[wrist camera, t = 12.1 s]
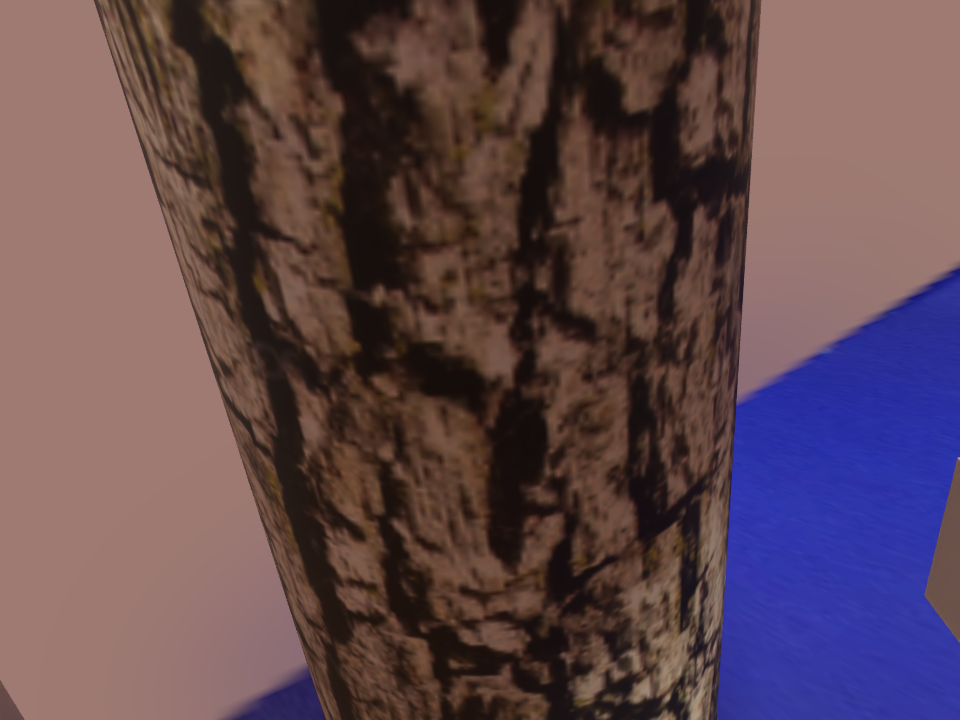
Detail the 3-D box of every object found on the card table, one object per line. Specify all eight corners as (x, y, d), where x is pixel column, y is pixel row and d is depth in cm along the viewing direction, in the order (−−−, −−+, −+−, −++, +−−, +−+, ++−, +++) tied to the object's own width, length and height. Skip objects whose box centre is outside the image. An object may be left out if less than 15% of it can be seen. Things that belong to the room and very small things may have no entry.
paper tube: (383, 909, 24) (29, -179, 11) (606, 795, 26) (554, -247, 12) (489, 1217, 19) (56, -161, 5) (759, 1046, 21) (963, -287, 7)
